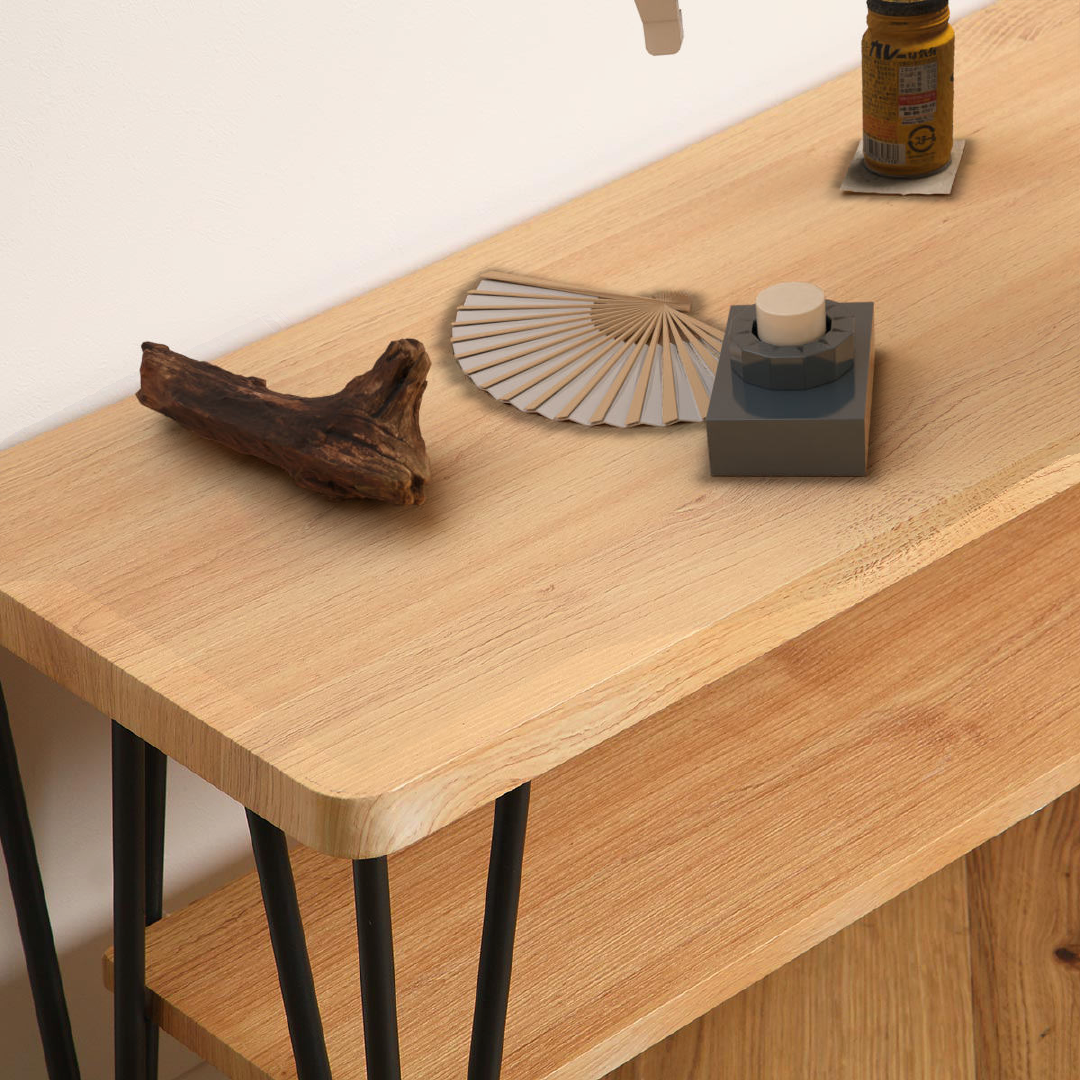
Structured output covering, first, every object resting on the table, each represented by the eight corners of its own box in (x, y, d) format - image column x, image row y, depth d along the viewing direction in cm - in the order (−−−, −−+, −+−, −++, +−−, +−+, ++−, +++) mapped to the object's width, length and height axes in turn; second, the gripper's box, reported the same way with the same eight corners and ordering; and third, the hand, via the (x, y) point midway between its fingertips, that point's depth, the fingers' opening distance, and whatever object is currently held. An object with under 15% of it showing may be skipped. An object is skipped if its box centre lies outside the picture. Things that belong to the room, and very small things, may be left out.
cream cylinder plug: (828, 314, 87) (827, 280, 85) (824, 348, 84) (822, 313, 83) (760, 315, 88) (758, 281, 86) (754, 350, 85) (752, 315, 84)
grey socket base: (874, 355, 92) (873, 269, 89) (866, 476, 83) (863, 384, 80) (734, 358, 94) (728, 273, 91) (710, 476, 85) (702, 386, 82)
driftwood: (497, 468, 88) (473, 339, 84) (409, 551, 83) (378, 418, 79) (194, 394, 100) (158, 276, 95) (100, 463, 95) (58, 342, 90)
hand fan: (530, 254, 109) (366, 353, 101) (528, 244, 109) (363, 341, 101) (860, 355, 93) (696, 481, 85) (860, 343, 93) (695, 468, 85)
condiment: (965, 143, 113) (968, -30, 106) (949, 196, 107) (952, 16, 100) (860, 142, 116) (857, -27, 109) (839, 194, 110) (833, 19, 103)
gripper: (687, -224, 69) (716, 88, 77) (731, -316, 85) (752, -50, 93) (543, -205, 71) (587, 98, 79) (613, -300, 87) (643, -39, 95)
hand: (677, 17), depth 86 cm, fingers open, 8 cm apart
